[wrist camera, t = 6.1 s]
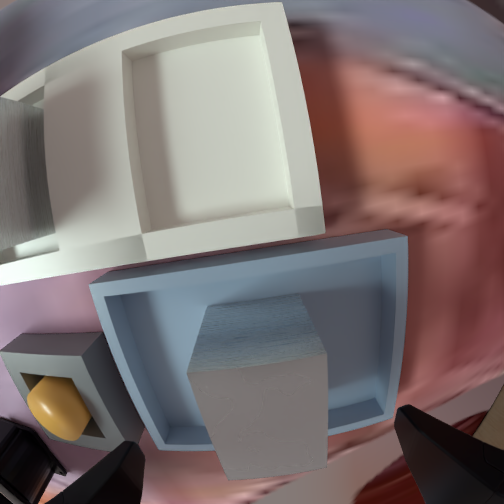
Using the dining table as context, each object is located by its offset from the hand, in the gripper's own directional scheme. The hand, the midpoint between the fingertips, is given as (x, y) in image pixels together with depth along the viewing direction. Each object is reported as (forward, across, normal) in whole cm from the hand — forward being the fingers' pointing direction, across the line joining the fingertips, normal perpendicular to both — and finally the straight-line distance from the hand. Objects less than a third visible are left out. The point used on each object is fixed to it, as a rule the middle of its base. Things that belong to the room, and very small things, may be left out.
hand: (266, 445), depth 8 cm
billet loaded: (+5, +10, -10) cm, 15 cm away
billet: (+6, 0, 0) cm, 6 cm away
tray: (+6, 0, 0) cm, 6 cm away
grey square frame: (+6, +11, +2) cm, 13 cm away
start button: (+5, +11, +1) cm, 13 cm away
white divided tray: (+6, +5, -10) cm, 13 cm away
